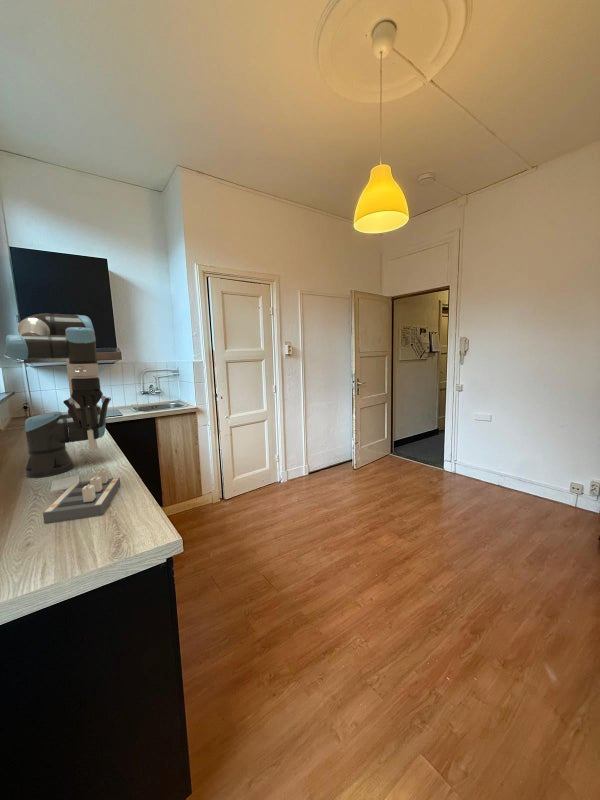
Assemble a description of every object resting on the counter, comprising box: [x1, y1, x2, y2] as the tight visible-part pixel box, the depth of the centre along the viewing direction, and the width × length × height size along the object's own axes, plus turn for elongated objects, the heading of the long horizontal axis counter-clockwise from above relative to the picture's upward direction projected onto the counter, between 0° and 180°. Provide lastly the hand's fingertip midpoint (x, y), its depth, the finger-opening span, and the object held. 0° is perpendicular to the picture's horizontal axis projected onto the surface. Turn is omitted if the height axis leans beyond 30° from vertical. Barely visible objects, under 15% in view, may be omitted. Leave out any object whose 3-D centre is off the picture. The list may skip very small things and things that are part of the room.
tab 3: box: [96, 468, 109, 484], centre depth 106 cm, size 2×2×4 cm
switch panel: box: [42, 477, 121, 524], centre depth 99 cm, size 22×14×3 cm, turn 17°
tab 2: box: [89, 475, 102, 492], centre depth 99 cm, size 2×2×4 cm
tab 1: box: [82, 484, 96, 502], centre depth 93 cm, size 2×2×4 cm
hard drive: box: [49, 474, 81, 495], centre depth 113 cm, size 2×8×12 cm
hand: (93, 448), depth 104 cm, fingers closed
